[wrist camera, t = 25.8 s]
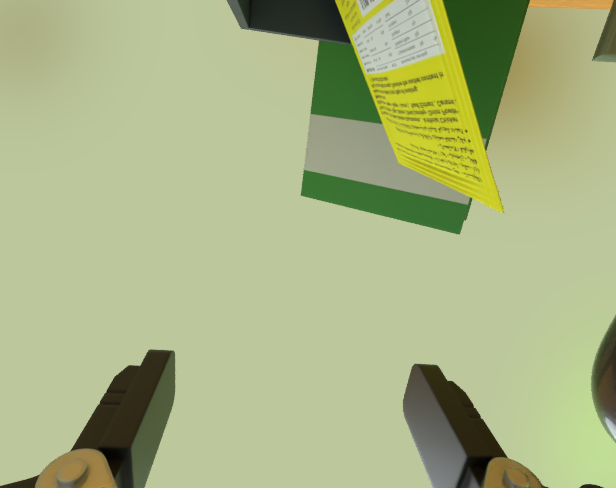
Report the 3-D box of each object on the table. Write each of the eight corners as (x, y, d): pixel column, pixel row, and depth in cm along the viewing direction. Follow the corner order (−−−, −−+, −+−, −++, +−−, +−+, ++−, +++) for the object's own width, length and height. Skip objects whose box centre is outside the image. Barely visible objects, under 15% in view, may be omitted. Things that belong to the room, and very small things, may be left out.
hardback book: (546, -71, 27) (459, 234, 35) (539, -33, 33) (466, 218, 42) (330, -57, 34) (300, 195, 42) (358, -28, 40) (327, 187, 49)
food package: (301, -111, 24) (404, 161, 32) (286, -102, 24) (392, 167, 32) (346, -410, 10) (514, 209, 17) (310, -386, 10) (492, 219, 18)
